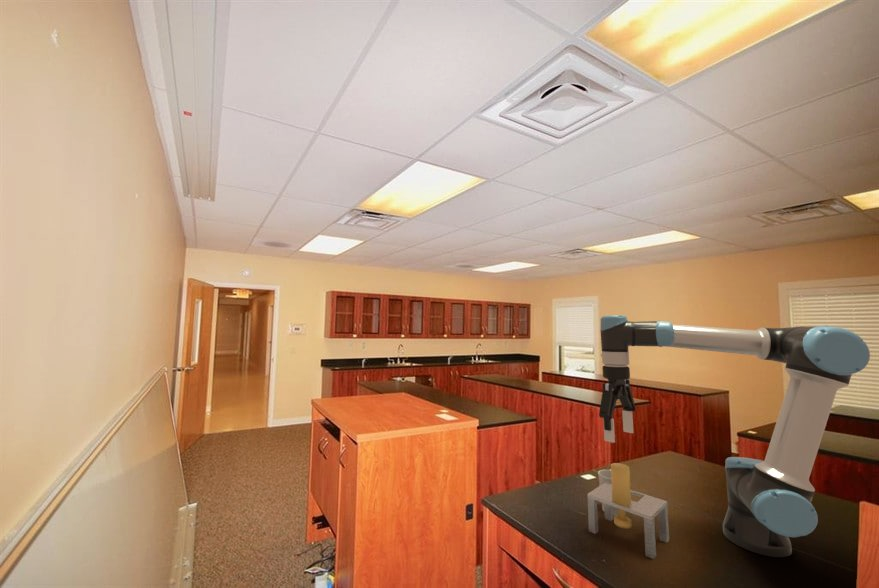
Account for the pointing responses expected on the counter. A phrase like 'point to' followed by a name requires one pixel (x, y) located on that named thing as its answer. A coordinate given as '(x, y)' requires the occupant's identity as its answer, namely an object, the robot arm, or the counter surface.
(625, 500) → the yellow tall stemmed piece
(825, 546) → the counter surface
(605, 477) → the cup
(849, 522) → the counter surface
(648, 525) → the shelf
